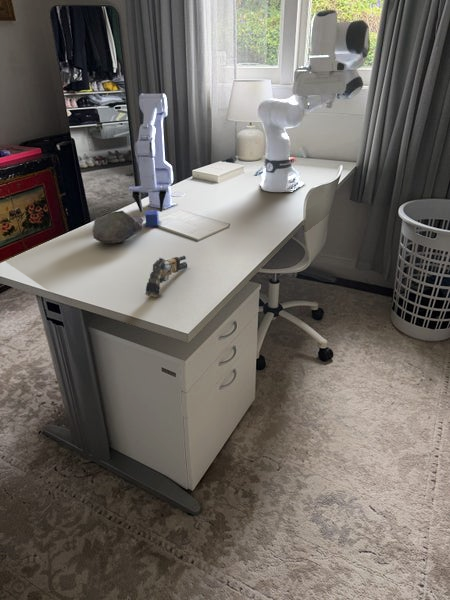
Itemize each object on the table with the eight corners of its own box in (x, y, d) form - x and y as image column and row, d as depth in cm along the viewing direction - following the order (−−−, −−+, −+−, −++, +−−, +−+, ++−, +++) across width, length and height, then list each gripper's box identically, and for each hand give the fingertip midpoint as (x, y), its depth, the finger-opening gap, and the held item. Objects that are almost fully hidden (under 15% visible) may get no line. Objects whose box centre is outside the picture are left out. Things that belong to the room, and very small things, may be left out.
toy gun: (142, 297, 112) (143, 260, 110) (178, 282, 131) (180, 250, 128) (153, 299, 111) (154, 262, 108) (188, 284, 130) (190, 252, 127)
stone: (131, 200, 152) (144, 211, 140) (139, 226, 157) (152, 240, 146) (83, 215, 146) (92, 228, 134) (93, 242, 152) (103, 257, 140)
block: (146, 226, 161) (145, 214, 159) (147, 222, 166) (146, 210, 163) (157, 226, 161) (156, 214, 159) (159, 221, 166) (158, 210, 163)
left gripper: (125, 178, 150) (130, 215, 157) (166, 177, 151) (169, 214, 158) (129, 173, 156) (133, 209, 163) (168, 172, 157) (171, 208, 164)
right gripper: (299, 67, 143) (296, 111, 150) (350, 64, 149) (346, 107, 156) (290, 66, 148) (288, 109, 155) (340, 64, 154) (336, 106, 161)
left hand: (151, 211), depth 161 cm, fingers open, 7 cm apart
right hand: (317, 108), depth 155 cm, fingers open, 8 cm apart
